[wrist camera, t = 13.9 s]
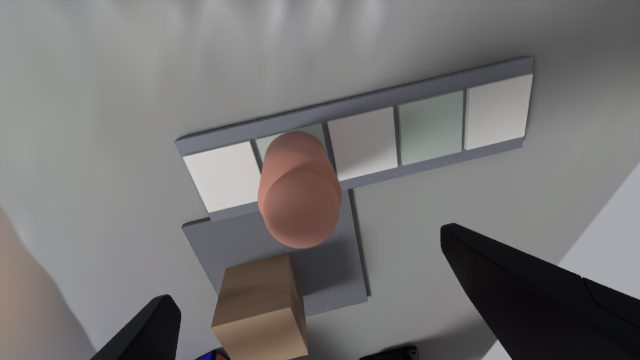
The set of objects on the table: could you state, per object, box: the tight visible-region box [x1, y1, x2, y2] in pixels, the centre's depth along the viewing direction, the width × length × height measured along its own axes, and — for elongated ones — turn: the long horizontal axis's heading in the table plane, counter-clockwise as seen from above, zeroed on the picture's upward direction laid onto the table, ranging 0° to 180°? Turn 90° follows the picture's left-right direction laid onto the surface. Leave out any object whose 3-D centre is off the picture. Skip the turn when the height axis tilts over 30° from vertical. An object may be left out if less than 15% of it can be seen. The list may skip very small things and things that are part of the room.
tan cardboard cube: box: [211, 253, 308, 360], centre depth 20 cm, size 5×5×5 cm
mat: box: [181, 189, 368, 317], centre depth 22 cm, size 12×12×1 cm
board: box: [174, 56, 534, 222], centre depth 18 cm, size 6×22×1 cm, turn 102°
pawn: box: [257, 131, 342, 248], centre depth 14 cm, size 4×4×8 cm
